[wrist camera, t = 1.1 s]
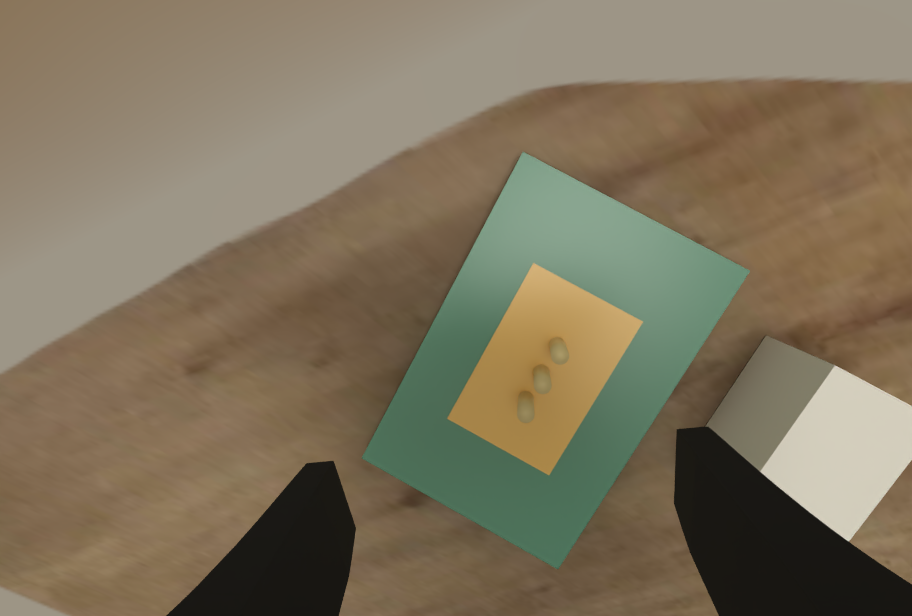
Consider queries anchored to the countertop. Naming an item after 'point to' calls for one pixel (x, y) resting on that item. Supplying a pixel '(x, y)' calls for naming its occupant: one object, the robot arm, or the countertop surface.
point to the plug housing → (816, 433)
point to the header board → (550, 359)
